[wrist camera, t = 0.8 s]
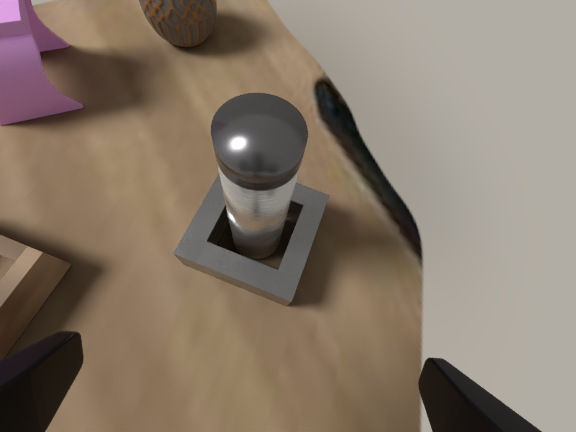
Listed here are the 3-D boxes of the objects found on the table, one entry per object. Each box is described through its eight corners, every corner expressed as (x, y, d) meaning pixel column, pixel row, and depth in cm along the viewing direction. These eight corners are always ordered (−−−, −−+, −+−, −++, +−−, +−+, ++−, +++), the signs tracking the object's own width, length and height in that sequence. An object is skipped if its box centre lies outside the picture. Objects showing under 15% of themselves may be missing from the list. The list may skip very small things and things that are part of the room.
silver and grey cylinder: (269, 266, 21) (288, 185, 10) (225, 248, 21) (192, 148, 10) (286, 225, 23) (320, 112, 11) (244, 208, 23) (236, 81, 11)
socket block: (286, 306, 20) (291, 301, 18) (183, 264, 21) (173, 253, 18) (320, 212, 24) (329, 195, 21) (231, 177, 24) (228, 156, 21)
